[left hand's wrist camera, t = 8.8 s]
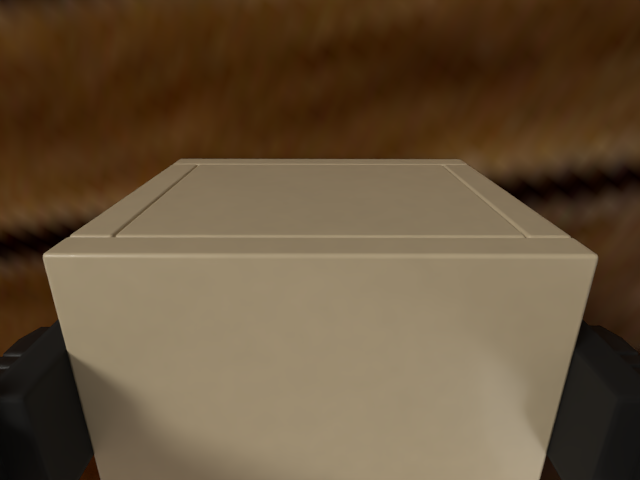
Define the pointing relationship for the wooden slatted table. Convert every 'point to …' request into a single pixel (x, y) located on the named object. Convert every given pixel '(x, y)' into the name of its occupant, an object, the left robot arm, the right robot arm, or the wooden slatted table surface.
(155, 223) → the cabinet
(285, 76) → the wooden slatted table surface
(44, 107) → the wooden slatted table surface
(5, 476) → the left robot arm
